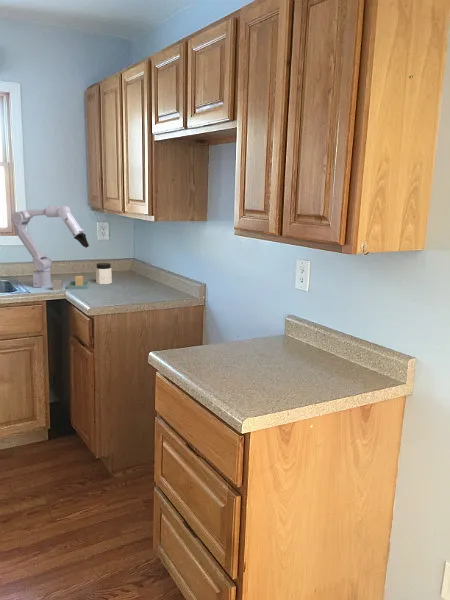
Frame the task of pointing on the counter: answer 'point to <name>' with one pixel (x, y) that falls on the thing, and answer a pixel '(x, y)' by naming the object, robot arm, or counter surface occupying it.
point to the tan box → (79, 281)
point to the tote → (72, 286)
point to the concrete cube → (57, 285)
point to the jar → (103, 273)
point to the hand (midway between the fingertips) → (86, 246)
